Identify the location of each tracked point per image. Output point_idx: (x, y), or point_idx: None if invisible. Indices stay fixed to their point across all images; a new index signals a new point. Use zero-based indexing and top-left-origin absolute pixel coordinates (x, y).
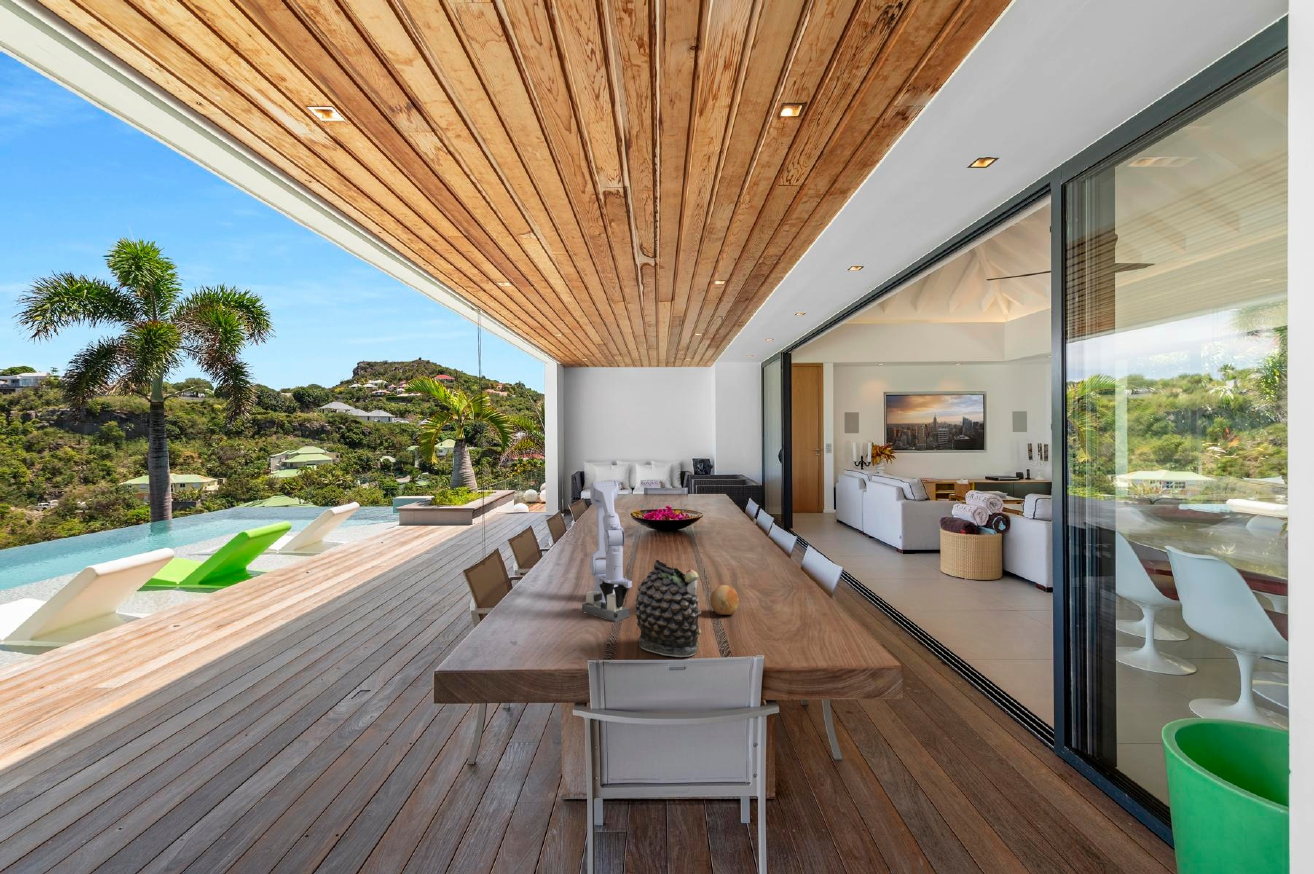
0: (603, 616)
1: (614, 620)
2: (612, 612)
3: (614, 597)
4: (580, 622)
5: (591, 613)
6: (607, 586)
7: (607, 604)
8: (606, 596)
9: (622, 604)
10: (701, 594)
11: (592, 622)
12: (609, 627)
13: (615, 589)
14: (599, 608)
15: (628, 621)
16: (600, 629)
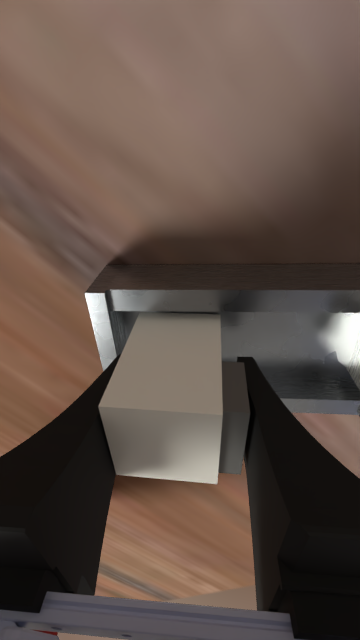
0: (223, 269)
1: (113, 266)
2: (123, 292)
3: (103, 403)
4: (317, 29)
5: (354, 267)
6: (273, 539)
7: (214, 345)
8: (239, 402)
9: None
10: (152, 582)
11: (219, 129)
12: (21, 137)
13: (4, 496)
14: (287, 302)
15: (64, 316)
16: (11, 22)
